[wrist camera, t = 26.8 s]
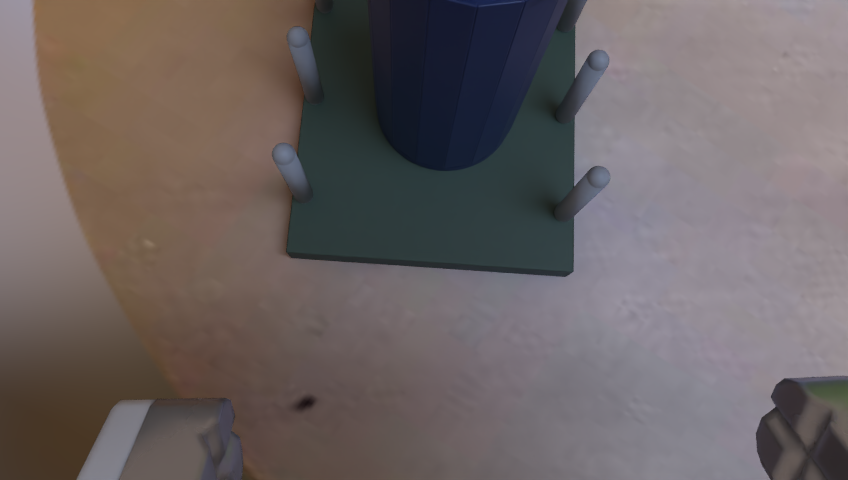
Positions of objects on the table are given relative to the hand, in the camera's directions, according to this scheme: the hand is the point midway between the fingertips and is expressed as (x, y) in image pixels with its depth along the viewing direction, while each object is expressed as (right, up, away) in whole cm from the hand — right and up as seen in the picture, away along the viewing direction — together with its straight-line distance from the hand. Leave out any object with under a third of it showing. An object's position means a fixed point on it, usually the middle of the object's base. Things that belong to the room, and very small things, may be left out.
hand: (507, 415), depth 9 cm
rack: (-1, +8, +19) cm, 21 cm away
